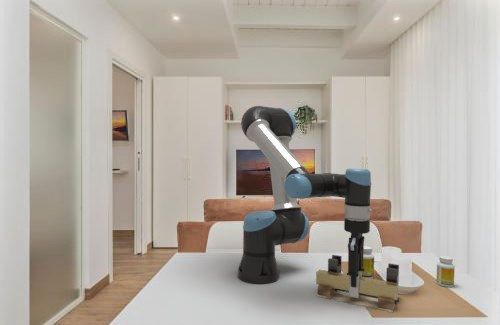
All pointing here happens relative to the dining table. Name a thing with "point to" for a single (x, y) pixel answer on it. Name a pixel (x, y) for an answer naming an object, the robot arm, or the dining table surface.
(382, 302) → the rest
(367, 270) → the pill bottle
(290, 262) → the dining table surface
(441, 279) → the supplement bottle
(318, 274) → the rail
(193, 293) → the dining table surface
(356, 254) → the robot arm
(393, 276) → the rack
